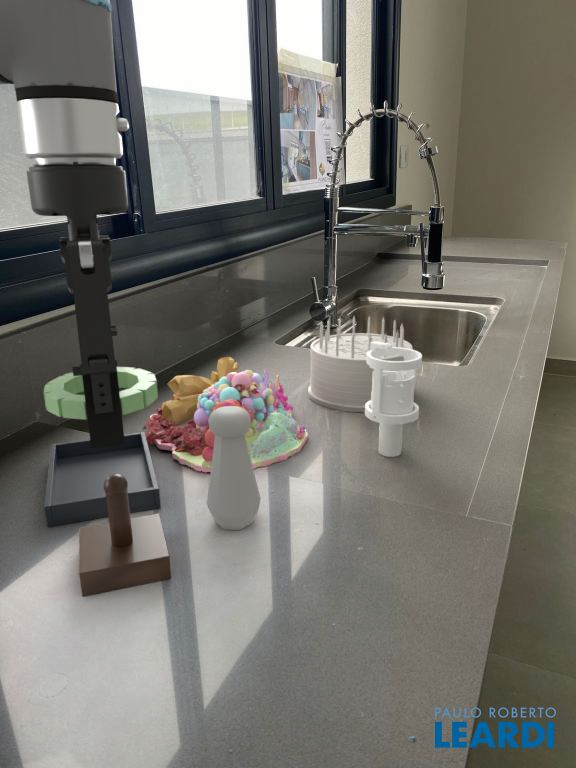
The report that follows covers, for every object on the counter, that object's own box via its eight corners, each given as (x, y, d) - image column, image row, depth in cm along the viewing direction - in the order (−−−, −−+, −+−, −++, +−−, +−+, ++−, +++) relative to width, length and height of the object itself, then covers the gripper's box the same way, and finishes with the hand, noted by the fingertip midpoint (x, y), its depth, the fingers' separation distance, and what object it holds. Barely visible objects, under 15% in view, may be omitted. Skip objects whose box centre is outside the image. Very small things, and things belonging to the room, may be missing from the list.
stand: (82, 596, 55) (68, 503, 51) (82, 548, 62) (69, 463, 59) (171, 578, 57) (163, 487, 54) (161, 533, 64) (153, 451, 61)
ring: (43, 425, 49) (40, 407, 48) (49, 388, 58) (47, 372, 57) (163, 411, 52) (161, 394, 51) (151, 377, 60) (150, 362, 60)
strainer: (384, 436, 87) (388, 335, 82) (426, 451, 82) (433, 345, 77) (353, 452, 82) (355, 346, 78) (395, 468, 78) (401, 356, 73)
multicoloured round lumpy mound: (114, 433, 89) (107, 374, 86) (232, 393, 106) (230, 342, 103) (227, 488, 73) (223, 417, 70) (346, 430, 89) (347, 371, 86)
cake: (431, 390, 106) (436, 315, 101) (375, 420, 93) (378, 337, 88) (347, 371, 117) (348, 303, 112) (286, 396, 104) (285, 320, 100)
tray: (47, 527, 66) (44, 507, 65) (53, 461, 81) (51, 443, 80) (160, 507, 69) (159, 488, 68) (146, 448, 85) (144, 431, 84)
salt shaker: (272, 519, 66) (269, 409, 62) (233, 541, 63) (227, 425, 58) (236, 501, 70) (231, 396, 66) (197, 521, 66) (189, 411, 62)
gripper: (134, 158, 39) (161, 468, 47) (117, 165, 59) (137, 381, 67) (9, 159, 37) (58, 483, 44) (35, 165, 57) (65, 388, 64)
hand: (105, 422), depth 55 cm, fingers closed on ring, 10 cm apart
